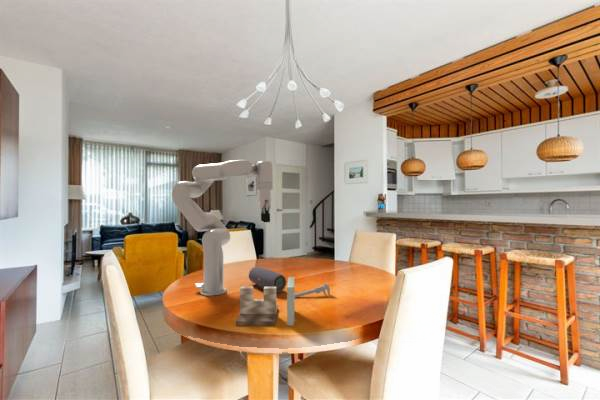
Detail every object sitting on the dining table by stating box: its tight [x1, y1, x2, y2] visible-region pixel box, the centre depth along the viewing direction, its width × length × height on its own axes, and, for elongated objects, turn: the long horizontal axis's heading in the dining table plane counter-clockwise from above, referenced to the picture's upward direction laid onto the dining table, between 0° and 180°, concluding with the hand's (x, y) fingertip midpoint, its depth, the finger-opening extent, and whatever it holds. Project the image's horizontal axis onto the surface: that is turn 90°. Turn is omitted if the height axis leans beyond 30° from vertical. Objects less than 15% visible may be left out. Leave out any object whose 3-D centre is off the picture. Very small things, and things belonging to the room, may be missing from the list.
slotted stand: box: [235, 285, 278, 326], centre depth 111 cm, size 14×16×12 cm
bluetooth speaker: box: [248, 266, 287, 293], centre depth 147 cm, size 23×9×10 cm, turn 42°
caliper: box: [295, 282, 331, 299], centre depth 135 cm, size 20×1×6 cm, turn 103°
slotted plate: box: [286, 276, 296, 327], centre depth 110 cm, size 14×2×14 cm, turn 0°
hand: (265, 221), depth 137 cm, fingers open, 9 cm apart
